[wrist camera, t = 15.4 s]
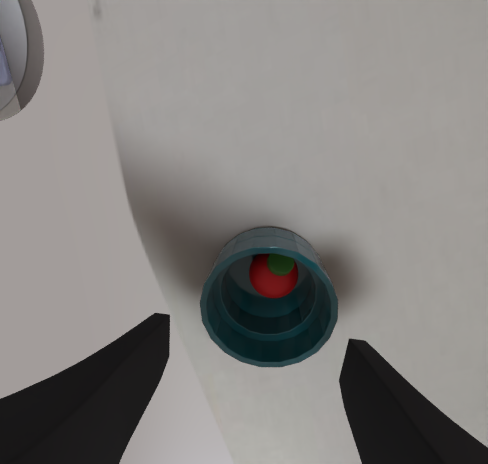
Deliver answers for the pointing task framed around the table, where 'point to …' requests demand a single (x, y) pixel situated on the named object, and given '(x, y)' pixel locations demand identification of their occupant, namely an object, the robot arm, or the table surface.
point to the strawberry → (273, 274)
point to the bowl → (268, 302)
